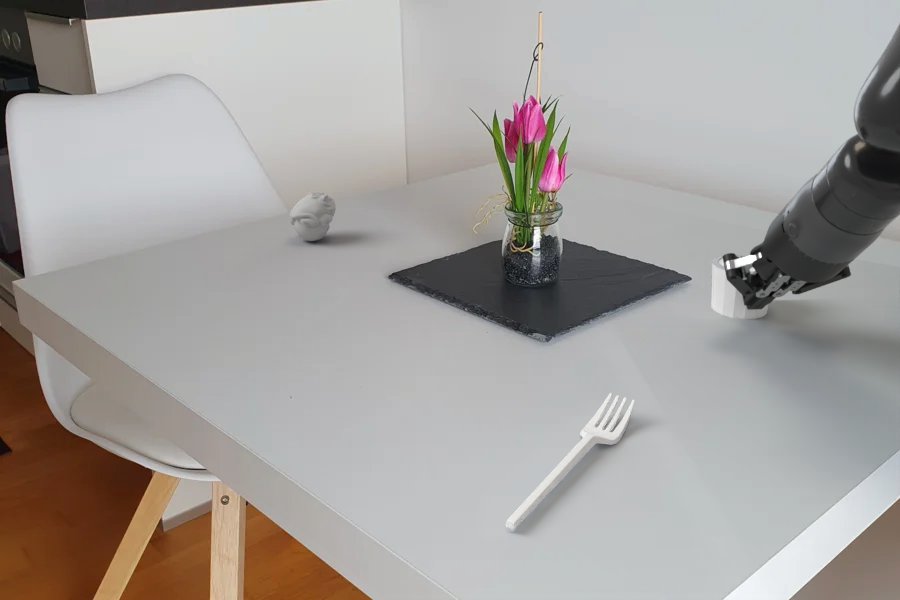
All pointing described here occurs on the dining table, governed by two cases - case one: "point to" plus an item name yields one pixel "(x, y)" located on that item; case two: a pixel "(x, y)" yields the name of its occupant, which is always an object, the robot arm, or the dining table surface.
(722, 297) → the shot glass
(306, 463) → the dining table surface
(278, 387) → the dining table surface
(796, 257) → the robot arm
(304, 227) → the frog figurine
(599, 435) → the fork
